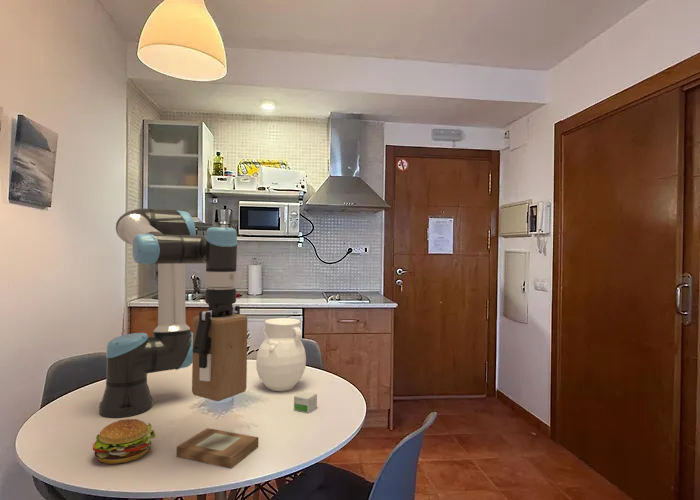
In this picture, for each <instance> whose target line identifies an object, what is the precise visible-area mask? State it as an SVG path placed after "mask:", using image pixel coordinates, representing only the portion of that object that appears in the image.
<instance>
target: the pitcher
mask: <svg viewBox="0 0 700 500" xmlns="http://www.w3.org/2000/svg"><path fill="white" fill-rule="evenodd" d="M300 327H301V320H300V319H297V318H289V317H288V318H287V317H283V318H282V317H281V318H269V319H266V320H264V325H263V328H262V332H263V335H264V340H263V341H262V343H261V344H260V346H259V349H258V351H257V354H256V362H255V363H256V364H255V367H256V372H257V375H258V378H259V379H260V380H261V382H262V383H263V385H264V386H265V387H266V388H267V389H268V390H270V391H272V392H286V391H290V390H292V389H293V388H294V387H295V386H296V385H297V384H298V382H299V381H300V380H301V378H302V377H303V375H304V373H305V369H306V367H307V366H306V365H307V364H306V363H307V356H306V355H307V354H306V349H305V347H304V344H303V342H302V340H301V339H302V336H303V334H302V333H303V332H302V329H301V328H300Z"/></svg>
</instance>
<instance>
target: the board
mask: <svg viewBox="0 0 700 500" xmlns="http://www.w3.org/2000/svg"><path fill="white" fill-rule="evenodd" d="M257 448H259V437H257V436H254V435H247V434H241V433H237V432H236V433H235V432H229V431H226V430H225V431H224V430H220V429H214V428H210V427H207V428H206V429H205V428H204V430H202V431H200V432H199V433H197V434H195V435H193V436H192V437H190V438H189V439H187V440H185V441H184V442H182V443H180V444H179V445H176V452H175V453H176V458H181V459H186V460H189V461H190V460H191V461H195V462H199V463H205V464H209V465H213V466H217V467H218V466H220V467H224V468H229V469H233V468H234V467H236V465H238V463H240V462H241V461H243V460H244V459H245V458H246V457H248V456H249V455H250V454H251V453H253V452H254V451H255V450H257Z"/></svg>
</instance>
